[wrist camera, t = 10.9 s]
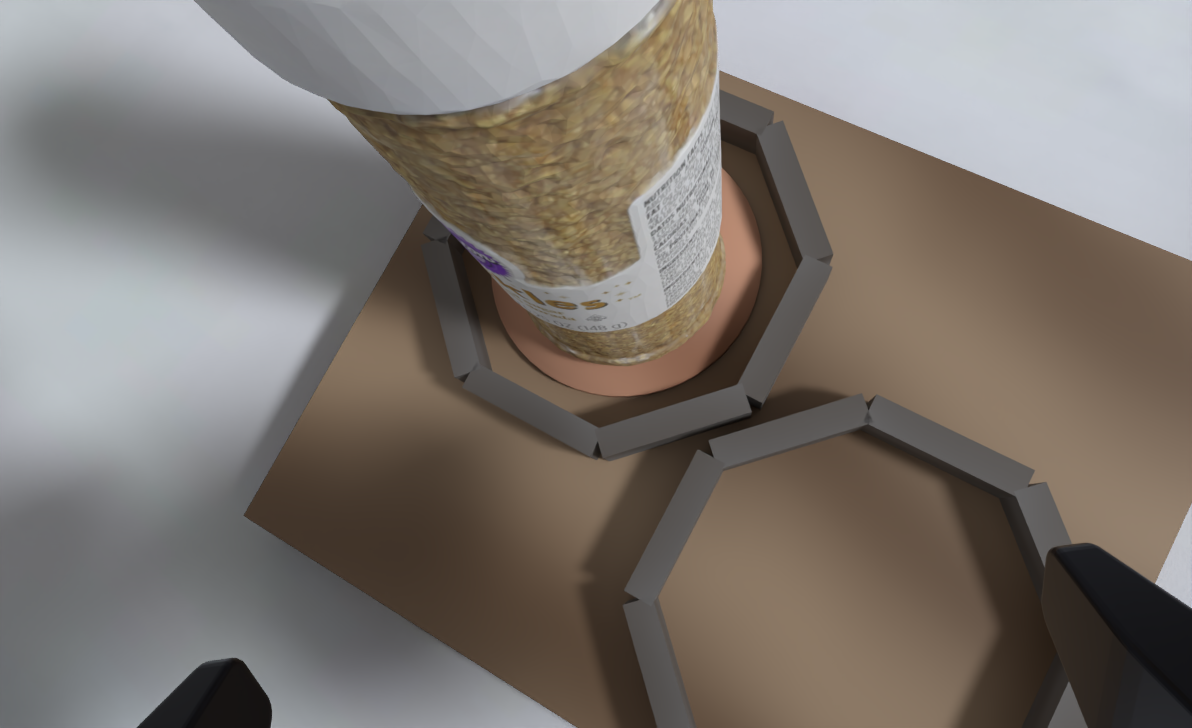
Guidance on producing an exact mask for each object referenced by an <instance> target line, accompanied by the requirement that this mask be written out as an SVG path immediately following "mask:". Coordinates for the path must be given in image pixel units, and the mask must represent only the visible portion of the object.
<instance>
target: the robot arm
mask: <svg viewBox="0 0 1192 728" xmlns="http://www.w3.org/2000/svg"><path fill="white" fill-rule="evenodd" d="M1041 603H1042V611H1043V615H1044V619H1045V622H1046V625H1047V627H1048V630H1049V632H1050V635H1051V637H1052V640H1053V642H1054V645H1055V647H1056V650H1057V652H1058V655H1059V657H1060V660H1061V662H1062V665H1063V667H1064V670H1065V672H1066V675H1067V677H1068V680H1069V682H1070V685H1071V687H1072V690H1073V692H1074V695H1075V697H1076V700H1077V702H1078V705H1079V707H1080V710H1081V712H1082V715H1083V717H1084V720H1085V722H1086V725H1087V727H1088V728H1192V608H1190V607H1189V606H1187V605H1186V604H1184V603H1183V602H1181V601H1180V600H1178V599H1177V598H1175V597H1174V596H1172V595H1171V594H1169V593H1168V592H1166V591H1165V590H1163V589H1162V588H1161V587H1159V586H1158V585H1156V584H1155V583H1153V582H1152V581H1150V580H1149V579H1147V578H1146V577H1144V576H1143V575H1141V574H1140V573H1138V572H1137V571H1135V570H1134V569H1132V568H1131V567H1129V566H1128V565H1126V564H1125V563H1123V562H1122V561H1120V560H1119V559H1117V558H1116V557H1114V556H1113V555H1111V554H1110V553H1108V552H1107V551H1105V550H1104V549H1102V548H1101V547H1099V546H1097V545H1095V544H1092V543H1077V544H1069V545H1062V546H1055V547H1052V548H1051V549H1050V550H1049V551H1048V553H1047V556H1046V561H1045V571H1044V580H1043V589H1042V598H1041ZM271 720H272V709H271V703H270V700H269V698H268V696H267V695H266V693H265V692H264V690H263V689H262V687H261V686H260V684H259V683H258V682H257V680H256V679H255V677H254V676H253V674H252V673H251V672H250V670H249V669H248V667H247V666H246V664H245V663H244V662H243V661H241V660H239V659H237V658H229V659H221V660H214V661H208V662H205V663H203V664H202V665H200V666H199V667H198V668H196V669H195V670H194V671H193V672H192V673H191V674H190V675H189V676H188V677H187V678H186V679H185V680H184V681H183V682H182V683H181V684H180V685H179V686H178V687H177V688H176V689H175V690H174V691H173V692H172V693H171V694H170V695H169V696H168V697H167V698H166V699H165V700H164V701H163V702H162V703H161V704H160V705H159V706H158V707H157V708H156V709H155V710H154V711H153V712H152V713H151V714H150V715H149V716H148V717H147V718H146V719H145V720H144V721H143V722H142V723H141V724H140V725H139V726H138V727H137V728H270V727H271Z"/></svg>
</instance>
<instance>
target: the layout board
mask: <svg viewBox="0 0 1192 728" xmlns="http://www.w3.org/2000/svg"><path fill="white" fill-rule="evenodd" d="M719 104H720V134H721V177H722V219H721V225H720V233H721V236H722V238H723V242H724V246H725V254H726V257H725V260H726V273H725V278H724V283H723V286H722V290H721V293H720V297H719V298H718V300H717V302H716V304H715V306H714V308H713V310H712V313H711V315H710V317H709V320H708V321H707V322H706V323H705V324H704V325H703V326H702V327H701V328H700V329H699V330H698V331H697V332H696V333H695V334H694V335H693V336H692V337H691V338H690V339H688V340H687V341H686V342H685V343H684V344H683V345H681V346H680V347H678V348H677V349H675V350H673V351H671V352H669V353H667V354H665V355H664V356H662V357H661V358H658V359H656V360H653V361H649V362H645V363H641V364H637V365H632V366H611V365H601V364H594V363H590V362H587V361H584V360H582V359H579V358H576V357H574V356H572V355H570V354H568V353H566V352H564V351H562V350H560V349H559V348H558V347H557V346H556V345H555V344H554V343H552V342H551V341H550V340H549V339H548V338H546V337H545V336H544V335H543V334H542V333H541V332H540V331H539V330H538V329H537V327H536V326H535V324H534V322H533V321H532V319H531V317H530V316H529V314H528V312H527V311H526V309H525V308H523V307H522V306H521V305H520V304H518V303H517V302H516V301H515V300H514V299H513V298H512V297H511V296H510V295H509V294H508V293H507V292H506V291H505V290H504V289H503V288H502V287H501V286H500V285H499V284H498V283H497V282H496V280H495V279H494V278H493V277H492V276H491V275H490V274H489V273H488V271H487V270H486V269H485V268H484V267H483V266H482V265H481V264H480V263H479V262H478V261H477V260H476V259H475V258H474V257H473V256H472V255H471V253H470V252H469V251H468V250H467V249H466V248H465V247H464V246H463V245H462V244H461V243H460V242H459V241H458V240H457V238H456V237H455V236H454V235H453V234H452V233H451V232H450V231H449V230H448V229H447V228H446V227H445V226H444V225H443V224H442V223H441V222H440V221H439V220H438V219H437V218H436V217H435V216H434V215H432V214H431V213H430V212H429V211H428V209H427V208H426V207H425V206H424V205H423V204H422V206H421V208H420V210H419V211H418V213H417V215H416V216H415V218H414V220H413V222H412V223H411V225H410V227H409V229H408V230H407V232H406V234H405V236H404V237H403V239H402V241H401V243H400V244H399V246H398V248H397V250H396V251H395V253H394V255H393V257H392V258H391V260H390V262H389V263H388V265H387V267H386V269H385V270H384V272H383V274H382V276H381V277H380V279H379V281H378V283H377V284H376V286H375V288H374V290H373V291H372V293H371V295H370V297H369V298H368V300H367V302H366V303H365V305H364V307H363V309H362V310H361V312H360V314H359V316H358V317H357V319H356V321H355V323H354V324H353V326H352V328H351V330H350V331H349V333H348V335H347V337H346V338H345V340H344V342H343V344H342V345H341V347H340V349H339V350H338V352H337V354H336V356H335V357H334V359H333V361H332V363H331V364H330V366H329V368H328V370H327V371H326V373H325V375H324V377H323V378H322V380H321V382H320V384H319V385H318V387H317V389H316V390H315V392H314V394H313V396H312V397H311V399H310V401H309V403H308V404H307V406H306V408H305V410H304V411H303V413H302V415H301V417H300V418H299V420H298V422H297V424H296V425H295V427H294V429H293V431H292V432H291V434H290V436H289V437H288V439H287V441H286V443H285V444H284V446H283V448H282V450H281V451H280V453H279V455H278V457H277V458H276V460H275V462H274V464H273V465H272V467H271V469H270V471H269V472H268V474H267V476H266V477H265V479H264V481H263V483H262V484H261V486H260V488H259V490H258V491H257V493H256V495H255V497H254V498H253V500H252V502H251V504H250V505H249V507H248V509H247V511H246V512H245V514H244V516H245V517H246V518H248V519H249V520H251V521H253V522H254V523H256V524H257V525H259V526H260V527H262V528H264V529H265V530H267V531H268V532H270V533H272V534H273V535H275V536H276V537H278V538H279V539H281V540H283V541H284V542H286V543H287V544H289V545H290V546H292V547H294V548H295V549H297V550H298V551H300V552H301V553H303V554H305V555H306V556H308V557H309V558H311V559H312V560H314V561H316V562H317V563H319V564H320V565H322V566H324V567H325V568H327V569H328V570H330V571H331V572H333V573H335V574H336V575H338V576H339V577H341V578H342V579H344V580H346V581H347V582H349V583H350V584H352V585H353V586H355V587H357V588H358V589H360V590H361V591H363V592H364V593H366V594H368V595H369V596H371V597H372V598H374V599H376V600H377V601H379V602H380V603H382V604H383V605H385V606H387V607H388V608H390V609H391V610H393V611H394V612H396V613H398V614H399V615H401V616H402V617H404V618H405V619H407V620H409V621H410V622H412V623H413V624H415V625H416V626H418V627H420V628H421V629H423V630H424V631H426V632H428V633H429V634H431V635H432V636H434V637H435V638H437V639H439V640H440V641H442V642H443V643H445V644H446V645H448V646H450V647H451V648H453V649H454V650H456V651H457V652H459V653H461V654H462V655H464V656H465V657H467V658H468V659H470V660H472V661H473V662H475V663H476V664H478V665H480V666H481V667H483V668H484V669H486V670H487V671H489V672H491V673H492V674H494V675H495V676H497V677H498V678H500V679H502V680H503V681H505V682H506V683H508V684H509V685H511V686H513V687H514V688H516V689H517V690H519V691H520V692H522V693H524V694H525V695H527V696H528V697H530V698H532V699H533V700H535V701H536V702H538V703H539V704H541V705H543V706H544V707H546V708H547V709H549V710H550V711H552V712H554V713H555V714H557V715H558V716H560V717H561V718H563V719H565V720H566V721H568V722H569V723H571V724H572V725H574V726H576V727H577V728H1088V727H1087V725H1086V722H1085V720H1084V717H1083V715H1082V712H1081V710H1080V707H1079V705H1078V702H1077V700H1076V697H1075V695H1074V692H1073V690H1072V687H1071V685H1070V682H1069V680H1068V677H1067V675H1066V672H1065V670H1064V667H1063V665H1062V662H1061V660H1060V657H1059V655H1058V652H1057V650H1056V647H1055V645H1054V642H1053V640H1052V637H1051V635H1050V632H1049V630H1048V627H1047V625H1046V622H1045V619H1044V615H1043V611H1042V603H1041V598H1042V589H1043V580H1044V571H1045V561H1046V556H1047V553H1048V551H1049V550H1050V549H1051V548H1052V547H1055V546H1062V545H1069V544H1077V543H1092V544H1095V545H1097V546H1099V547H1101V548H1102V549H1104V550H1105V551H1107V552H1108V553H1110V554H1111V555H1113V556H1114V557H1116V558H1117V559H1119V560H1120V561H1122V562H1123V563H1125V564H1126V565H1128V566H1129V567H1131V568H1132V569H1134V570H1135V571H1137V572H1138V573H1140V574H1141V575H1143V576H1144V577H1146V578H1147V579H1149V580H1150V581H1152V582H1153V583H1155V582H1156V580H1157V578H1158V575H1159V573H1160V571H1161V569H1162V567H1163V564H1164V562H1165V560H1166V558H1167V556H1168V554H1169V551H1170V549H1171V547H1172V545H1173V543H1174V540H1175V538H1176V536H1177V534H1178V532H1179V530H1180V527H1181V525H1182V523H1183V521H1184V519H1185V516H1186V514H1187V512H1188V510H1189V508H1190V506H1191V503H1192V261H1190V260H1188V259H1185V258H1183V257H1180V256H1178V255H1175V254H1173V253H1170V252H1168V251H1166V250H1163V249H1161V248H1158V247H1156V246H1153V245H1151V244H1148V243H1146V242H1143V241H1141V240H1138V239H1136V238H1133V237H1131V236H1128V235H1126V234H1123V233H1121V232H1118V231H1116V230H1113V229H1111V228H1109V227H1106V226H1104V225H1101V224H1099V223H1096V222H1094V221H1091V220H1089V219H1086V218H1084V217H1081V216H1079V215H1076V214H1074V213H1071V212H1069V211H1066V210H1064V209H1061V208H1059V207H1056V206H1054V205H1052V204H1049V203H1047V202H1044V201H1042V200H1039V199H1037V198H1034V197H1032V196H1029V195H1027V194H1024V193H1022V192H1019V191H1017V190H1014V189H1012V188H1009V187H1007V186H1004V185H1002V184H999V183H997V182H995V181H992V180H990V179H987V178H985V177H982V176H980V175H977V174H975V173H972V172H970V171H967V170H965V169H962V168H960V167H957V166H955V165H952V164H950V163H947V162H945V161H942V160H940V159H938V158H935V157H933V156H930V155H928V154H925V153H923V152H920V151H918V150H915V149H913V148H910V147H908V146H905V145H903V144H900V143H898V142H895V141H893V140H890V139H888V138H885V137H883V136H881V135H878V134H876V133H873V132H871V131H868V130H866V129H863V128H861V127H858V126H856V125H853V124H851V123H848V122H846V121H843V120H841V119H838V118H836V117H833V116H831V115H828V114H826V113H824V112H821V111H819V110H816V109H814V108H811V107H809V106H806V105H804V104H801V103H799V102H796V101H794V100H791V99H789V98H786V97H784V96H781V95H779V94H776V93H774V92H771V91H769V90H767V89H764V88H762V87H759V86H757V85H754V84H752V83H749V82H747V81H744V80H742V79H739V78H737V77H734V76H732V75H729V74H727V73H724V72H722V71H719Z"/></svg>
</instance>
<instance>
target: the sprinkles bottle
mask: <svg viewBox="0 0 1192 728" xmlns="http://www.w3.org/2000/svg"><path fill="white" fill-rule="evenodd" d="M194 1H195V2H196V3H197V4H198V5H199V6H200V7H201V8H202V9H203V10H204V11H205V12H206V13H207V14H208V15H209V16H210V17H211V18H212V19H214V20H215V21H216V22H217V23H218V24H219V25H220V26H221V27H222V28H223V29H224V30H225V31H226V32H227V33H229V34H230V35H231V36H232V37H233V38H234V39H235V40H236V41H237V42H238V43H239V44H240V45H241V46H242V47H243V48H245V49H246V50H247V51H248V52H249V53H250V54H251V55H252V56H253V57H254V58H256V59H257V60H258V61H260V62H261V63H262V64H264V65H265V66H266V67H268V68H269V69H271V70H272V71H273V72H275V73H276V74H277V75H279V76H280V77H281V78H283V79H284V80H286V81H288V82H290V83H292V84H293V85H296V86H298V87H300V88H302V89H305V90H307V91H309V92H311V93H314V94H316V95H318V96H321V97H324V98H326V99H327V100H329V101H330V103H331V104H332V105H333V106H334V107H335V108H336V109H337V110H338V111H340V112H341V113H343V114H344V115H345V116H346V117H347V118H348V120H349V121H350V123H351V124H352V125H353V126H354V127H355V128H356V129H357V130H358V131H359V132H360V133H361V134H362V135H363V136H364V138H365V139H366V140H367V141H368V142H369V143H370V144H371V145H372V146H373V147H374V148H375V149H376V150H377V151H378V152H379V153H380V155H382V156H383V157H384V158H385V159H386V160H387V161H388V162H389V163H390V164H391V166H392V167H393V169H394V170H395V171H396V172H397V173H398V174H400V175H401V176H402V177H403V178H404V179H405V180H406V181H407V182H408V184H409V186H410V187H411V189H412V191H413V193H414V194H415V195H416V196H417V198H418V199H419V200H420V201H421V202H422V204H423V205H424V206H425V207H426V208H427V209H428V211H429V212H430V213H431V214H432V215H434V216H435V217H436V218H437V219H438V220H439V221H440V222H441V223H442V224H443V225H444V226H445V227H446V228H447V229H448V230H449V231H450V232H451V233H452V234H453V235H454V236H455V237H456V238H457V240H458V241H459V242H460V243H461V244H462V245H463V246H464V247H465V248H466V249H467V250H468V251H469V252H470V253H471V255H472V256H473V257H474V258H475V259H476V260H477V261H478V262H479V263H480V264H481V265H482V266H483V267H484V268H485V269H486V270H487V271H488V273H489V274H490V275H491V276H492V277H493V278H494V279H495V280H496V282H497V283H498V284H499V285H500V286H501V287H502V288H503V289H504V290H505V291H506V292H507V293H508V294H509V295H510V296H511V297H512V298H513V299H514V300H515V301H516V302H517V303H518V304H520V305H521V306H522V307H523V308H525V309H526V311H527V312H528V314H529V316H530V317H531V319H532V321H533V322H534V324H535V326H536V327H537V329H538V330H539V331H540V332H541V333H542V334H543V335H544V336H545V337H546V338H548V339H549V340H550V341H551V342H552V343H554V344H555V345H556V346H557V347H558V348H559V349H560V350H562V351H564V352H566V353H568V354H570V355H572V356H574V357H576V358H579V359H582V360H584V361H587V362H590V363H594V364H601V365H611V366H632V365H637V364H641V363H645V362H649V361H653V360H656V359H658V358H661V357H662V356H664V355H665V354H667V353H669V352H671V351H673V350H675V349H677V348H678V347H680V346H681V345H683V344H684V343H685V342H686V341H687V340H688V339H690V338H691V337H692V336H693V335H694V334H695V333H696V332H697V331H698V330H699V329H700V328H701V327H702V326H703V325H704V324H705V323H706V322H707V321H708V320H709V317H710V315H711V313H712V310H713V308H714V306H715V304H716V302H717V300H718V298H719V297H720V293H721V290H722V286H723V283H724V278H725V273H726V260H725V257H726V254H725V246H724V242H723V238H722V236H721V233H720V225H721V219H722V177H721V134H720V104H719V53H718V36H717V26H716V20H715V16H714V13H713V0H194Z"/></svg>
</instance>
